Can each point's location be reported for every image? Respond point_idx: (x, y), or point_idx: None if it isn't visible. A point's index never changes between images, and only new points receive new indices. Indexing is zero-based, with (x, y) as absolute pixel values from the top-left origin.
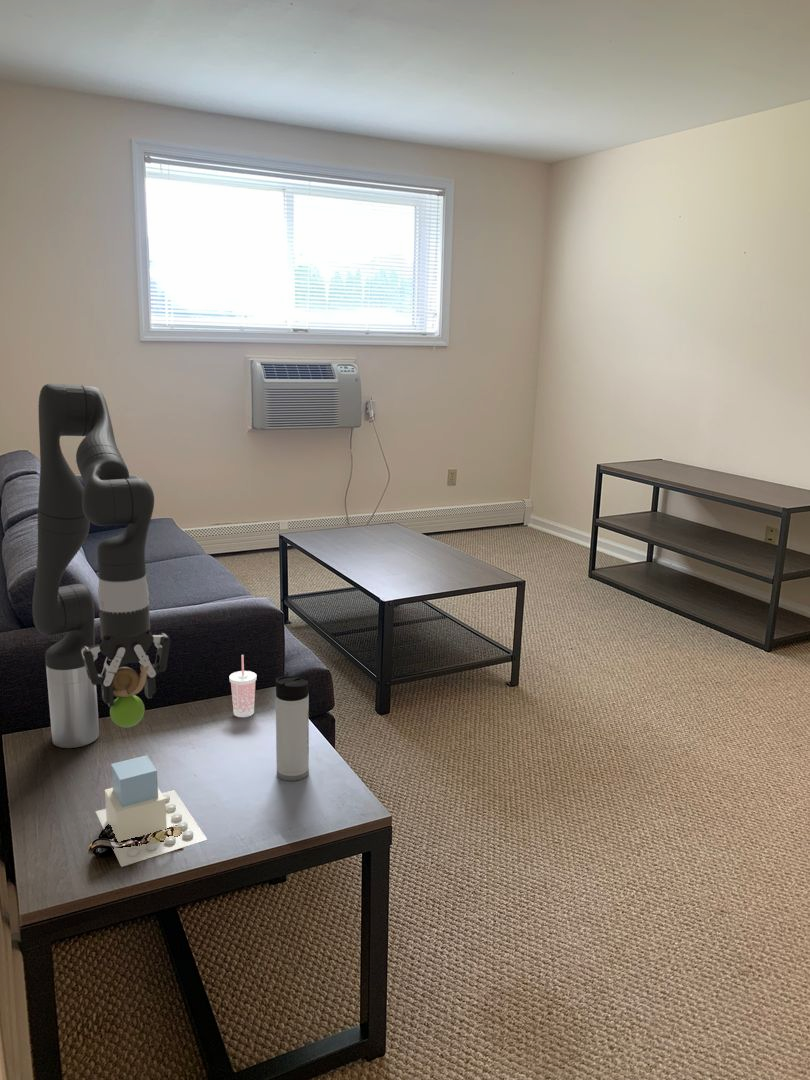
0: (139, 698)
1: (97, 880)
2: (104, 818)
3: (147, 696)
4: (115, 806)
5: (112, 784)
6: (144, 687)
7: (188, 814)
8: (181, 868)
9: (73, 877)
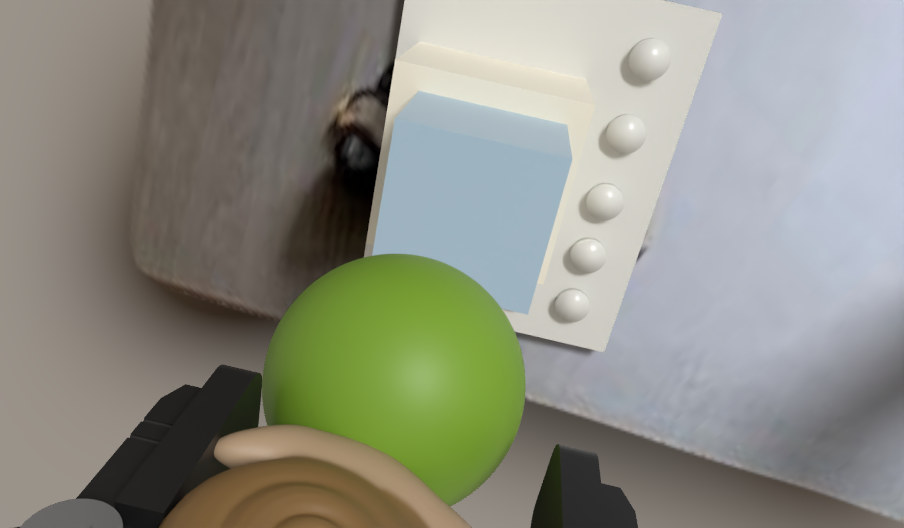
0: (479, 470)
1: (299, 273)
2: (420, 19)
3: (536, 514)
4: (378, 208)
5: (413, 97)
6: (560, 486)
7: (648, 204)
8: None
9: (252, 219)
